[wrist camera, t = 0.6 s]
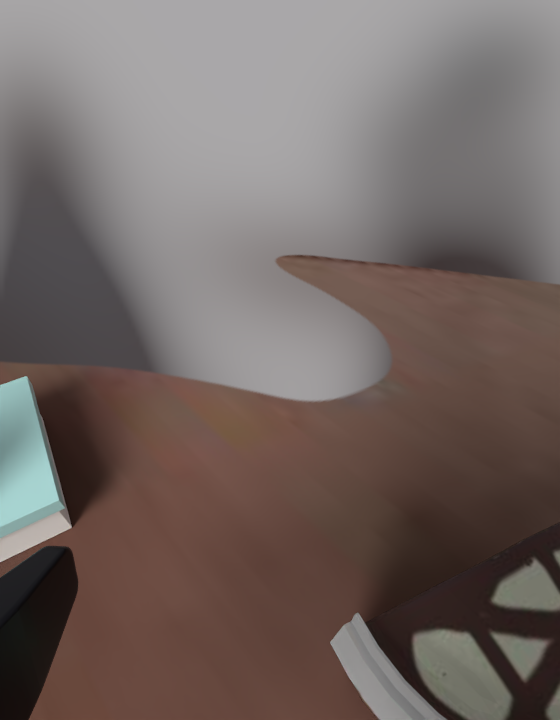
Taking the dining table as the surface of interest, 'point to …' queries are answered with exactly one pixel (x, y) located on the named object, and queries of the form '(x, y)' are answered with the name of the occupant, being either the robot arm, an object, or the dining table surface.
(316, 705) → the dining table surface
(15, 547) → the tub
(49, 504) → the lid
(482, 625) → the food container
